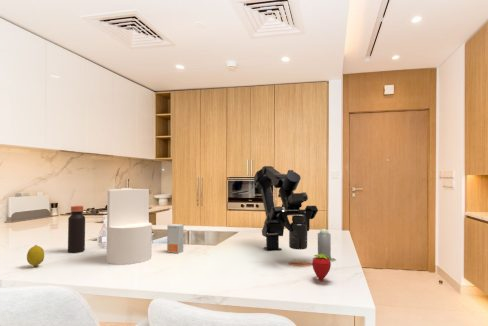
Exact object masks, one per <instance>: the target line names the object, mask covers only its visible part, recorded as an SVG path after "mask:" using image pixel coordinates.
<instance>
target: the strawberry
mask: <svg viewBox="0 0 488 326" xmlns="http://www.w3.org/2000/svg"><path fill="white" fill-rule="evenodd" d="M323 251H324V250H323ZM323 251H322V252H323ZM314 257H315V258H314ZM314 257H313V258H314V259H313V258H312V262H311V263H312V270H313V272H314V273H315V275H316V277H317V279H318V280H319V281H320V282H323V280H324V279H325V278H326V277H327V275H328V274H329V273H330V269H331V267H332V264H331V263H332V262H330V260H329V259H328V258H326V257H329V256H325V255H322V254H319V255H318V254H314Z"/></svg>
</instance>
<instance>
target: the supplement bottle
mask: <svg viewBox="0 0 488 326" xmlns="http://www.w3.org/2000/svg"><path fill="white" fill-rule="evenodd" d="M291 221H292V222H290V225H291V228H292V232H290V231H289V230H288V234H289V235H288V236H289V237H288V240H289V241H288V247H289V248H290V249H292V250H299V251H300V250H307V249H308V231H307V229H308V227H307V224H306V223H304V221H305V216H302V215H292V216H291Z"/></svg>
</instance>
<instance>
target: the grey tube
mask: <svg viewBox="0 0 488 326" xmlns="http://www.w3.org/2000/svg"><path fill="white" fill-rule="evenodd" d="M331 237H332V235H331V233H329V231H328V229H326V228H321V229H320V230H319V233H318V232H317V255H319V254H322V255H325V256H329V257H326V258H328V259H329V260H331V258H332V253H331V249H332V247H331V245H332V244H331V243H332V242H331ZM323 250H324V251H323ZM322 251H323V252H322Z"/></svg>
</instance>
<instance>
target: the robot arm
mask: <svg viewBox="0 0 488 326" xmlns="http://www.w3.org/2000/svg"><path fill="white" fill-rule="evenodd" d="M300 181H301V174H299V173H298V172H295V171H294V169H288V170H287V173H281V172H279V171H278V170H277V169H275V167H274V166H272V165H271V166H270V165H264V166H262V167H261V169H259V170H257V171H256V172H255V174H254V176H253V182H254V183H255V187H256V188H257V189H258V190H260V193H261V198H262V202H263V203H262V204H263V208H264V212H265V220H264V222H263V223H264V224H263V227H262V229H261V234H262V236H263V237H264V238H266V239H265V240H266V242H265V243H266V244H265V246H263V249H264V250H266V251H268V252H272V251H275V252H276V251H282V248H280V246H279V245H280V240H279V237H283V236H284V230H285V229H287V231H288V232H289V231H290V232H292V228H291V225H290V224H291V222H290V220H289V217H290V216H291V217H292V216H295V215H299V216H305V221H304V223H306V224H307V227H308V229H307V232H309V231H310V227H311V225H310V223H311V221H310V220H313V219H315V217H316V215H317V214H318V212H319V209H318V207H317V205H306V206H305V208H304V209H301V208H302V206H303V203H304V202H306V201H308V199H309V197H308V194H307V192H304V191H303V192H296V193H294V191H296V190H297V188H298V185H299V184H300ZM271 186H273V187H274V188H275V189H278V198H280V200H281V202H282V203H281V206H275V203H274V198H273V195H272V194H273V193H272V190H271ZM288 216H289V217H288Z"/></svg>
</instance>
